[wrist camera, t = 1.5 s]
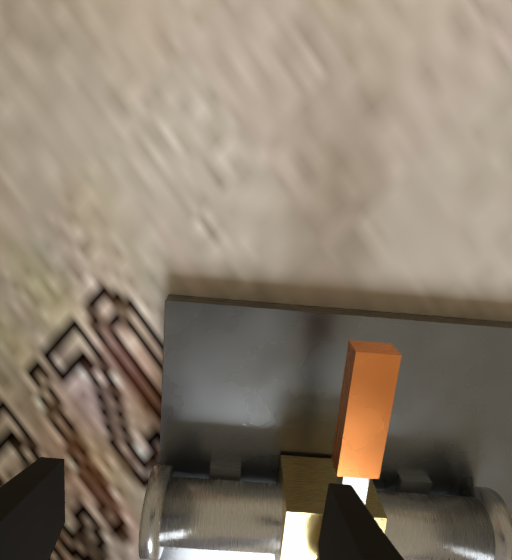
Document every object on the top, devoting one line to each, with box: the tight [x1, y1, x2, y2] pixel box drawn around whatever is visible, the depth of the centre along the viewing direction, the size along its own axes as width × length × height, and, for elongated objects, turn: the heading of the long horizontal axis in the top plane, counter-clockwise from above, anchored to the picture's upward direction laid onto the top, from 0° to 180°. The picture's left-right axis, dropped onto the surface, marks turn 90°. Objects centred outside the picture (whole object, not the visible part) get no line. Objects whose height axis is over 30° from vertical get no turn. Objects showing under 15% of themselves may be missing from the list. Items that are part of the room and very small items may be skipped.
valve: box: [139, 295, 512, 560], centre depth 21 cm, size 21×18×6 cm
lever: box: [316, 340, 402, 560], centre depth 16 cm, size 12×2×1 cm, turn 175°
